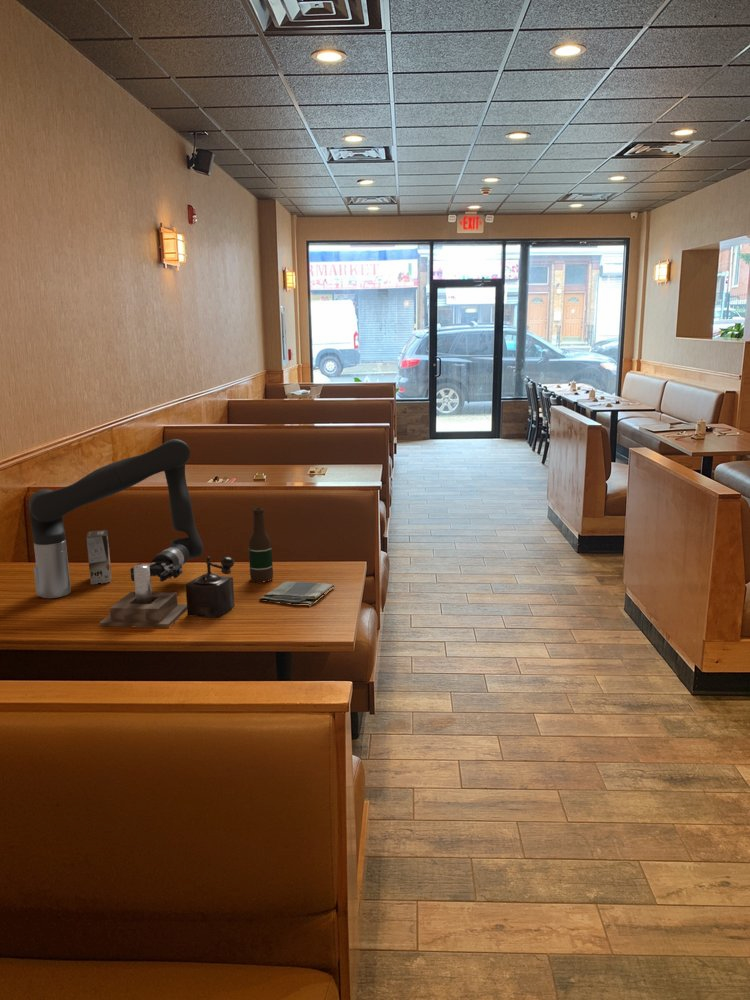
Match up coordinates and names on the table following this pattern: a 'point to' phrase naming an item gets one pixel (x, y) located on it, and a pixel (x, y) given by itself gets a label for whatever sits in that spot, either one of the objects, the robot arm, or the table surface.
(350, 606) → the table surface
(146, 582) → the pin
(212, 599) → the dark manual coffee grinder
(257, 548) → the beer bottle
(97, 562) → the coffee box
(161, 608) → the socket block
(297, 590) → the dish towel
